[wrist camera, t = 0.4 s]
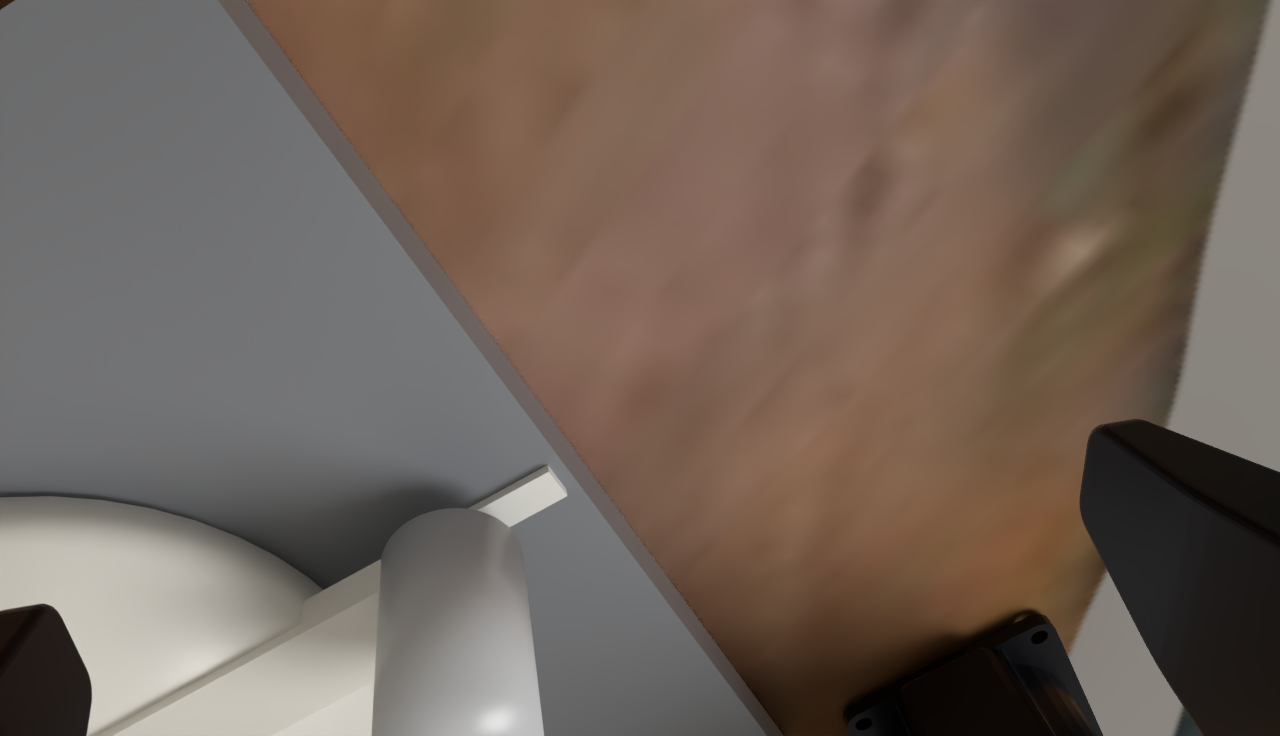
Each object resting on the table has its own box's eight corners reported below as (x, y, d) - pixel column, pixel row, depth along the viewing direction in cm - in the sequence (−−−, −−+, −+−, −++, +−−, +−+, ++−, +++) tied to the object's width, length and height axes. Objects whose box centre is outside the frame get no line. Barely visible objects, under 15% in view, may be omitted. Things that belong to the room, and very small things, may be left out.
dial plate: (784, 737, 32) (802, 787, 30) (64, 1095, 35) (48, 1156, 33) (170, -102, 18) (148, -86, 17) (-926, 605, 21) (-1026, 672, 20)
